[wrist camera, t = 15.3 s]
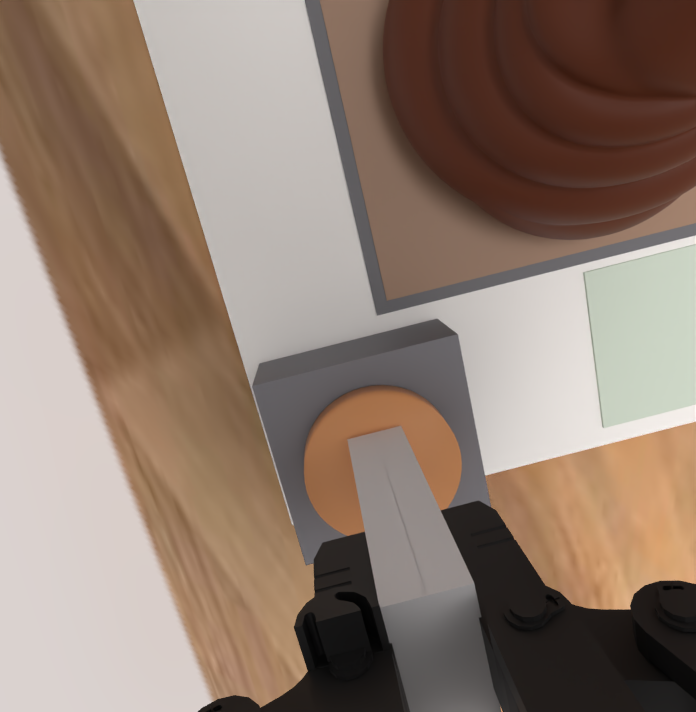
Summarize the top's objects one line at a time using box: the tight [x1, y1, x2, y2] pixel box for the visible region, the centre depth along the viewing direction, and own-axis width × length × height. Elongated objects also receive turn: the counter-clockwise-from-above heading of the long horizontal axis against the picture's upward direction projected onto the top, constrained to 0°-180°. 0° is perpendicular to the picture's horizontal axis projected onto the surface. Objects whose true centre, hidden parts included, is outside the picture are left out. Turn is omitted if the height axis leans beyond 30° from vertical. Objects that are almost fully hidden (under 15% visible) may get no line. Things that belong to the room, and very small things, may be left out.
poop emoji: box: [383, 0, 696, 240], centre depth 12 cm, size 10×8×9 cm
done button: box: [304, 385, 462, 536], centre depth 17 cm, size 4×4×3 cm
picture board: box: [133, 0, 696, 565], centre depth 16 cm, size 20×18×4 cm
